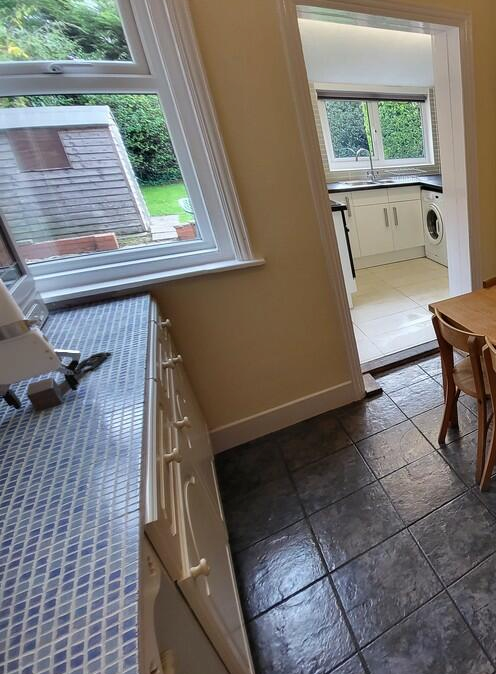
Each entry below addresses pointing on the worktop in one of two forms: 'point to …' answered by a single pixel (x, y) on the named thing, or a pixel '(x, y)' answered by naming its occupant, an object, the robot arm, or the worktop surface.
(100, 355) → the knife
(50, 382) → the walnut bar
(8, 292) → the robot arm
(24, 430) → the worktop surface
